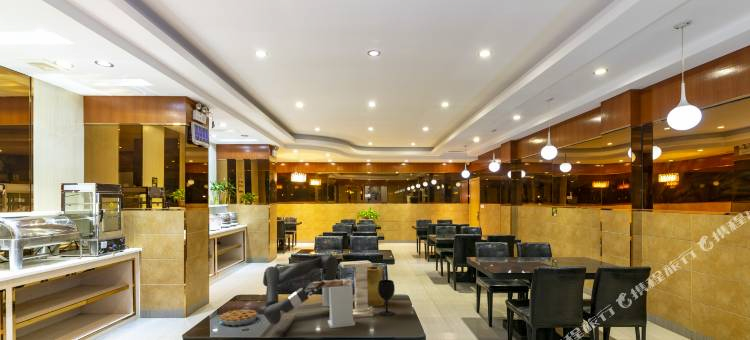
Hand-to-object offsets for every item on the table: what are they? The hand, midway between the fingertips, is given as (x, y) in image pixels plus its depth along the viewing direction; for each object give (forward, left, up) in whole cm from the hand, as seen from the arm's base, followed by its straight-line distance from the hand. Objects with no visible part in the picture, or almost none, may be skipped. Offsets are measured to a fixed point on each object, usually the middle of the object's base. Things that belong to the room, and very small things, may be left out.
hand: (322, 280), depth 237 cm
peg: (0, +5, -3) cm, 6 cm away
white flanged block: (0, +10, -25) cm, 27 cm away
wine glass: (-10, +41, -26) cm, 50 cm away
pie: (-28, -47, -26) cm, 60 cm away
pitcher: (-35, +40, -26) cm, 59 cm away
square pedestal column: (-15, +23, -25) cm, 38 cm away
